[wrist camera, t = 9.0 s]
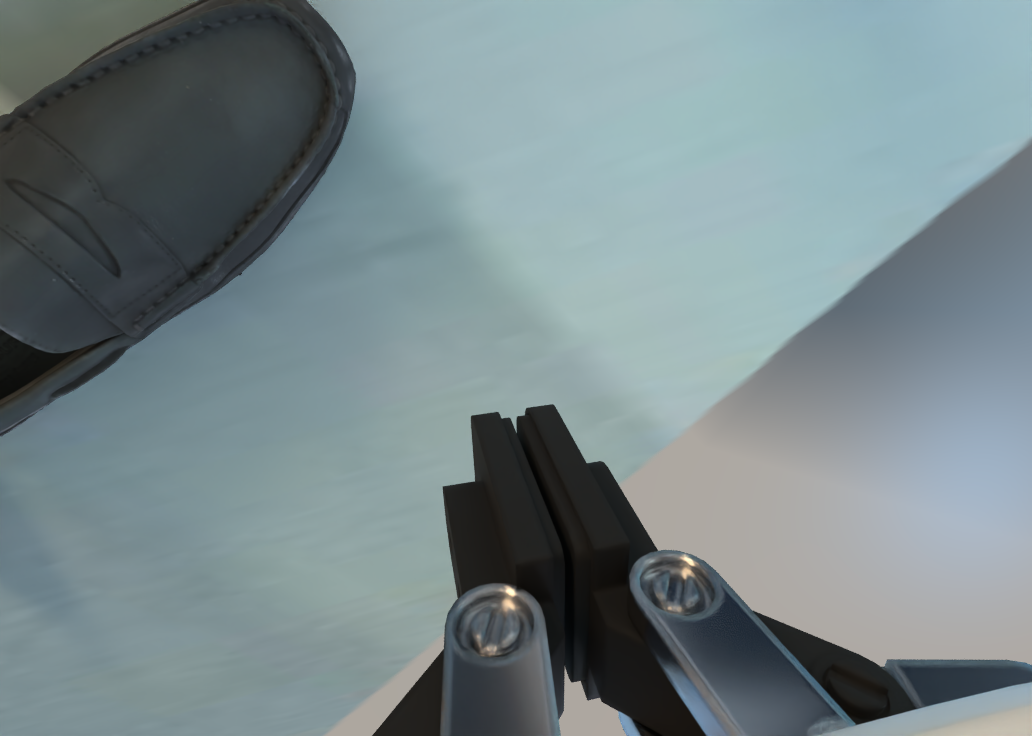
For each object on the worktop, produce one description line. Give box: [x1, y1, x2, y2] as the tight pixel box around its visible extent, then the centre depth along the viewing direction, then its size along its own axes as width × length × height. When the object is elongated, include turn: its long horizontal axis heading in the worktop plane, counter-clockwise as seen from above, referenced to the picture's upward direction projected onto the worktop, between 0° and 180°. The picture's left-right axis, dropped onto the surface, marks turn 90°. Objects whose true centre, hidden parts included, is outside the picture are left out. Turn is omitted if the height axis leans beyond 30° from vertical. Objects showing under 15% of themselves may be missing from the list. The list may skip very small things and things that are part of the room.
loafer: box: [0, 0, 356, 436], centre depth 24 cm, size 10×29×10 cm, turn 130°
